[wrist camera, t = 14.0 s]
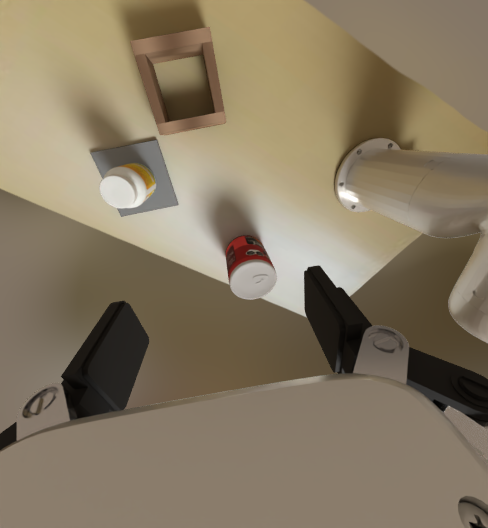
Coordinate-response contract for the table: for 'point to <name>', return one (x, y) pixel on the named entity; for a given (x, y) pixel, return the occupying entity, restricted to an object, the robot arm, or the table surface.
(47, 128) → the table surface
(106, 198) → the supplement bottle
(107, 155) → the rubber mat
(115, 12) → the table surface
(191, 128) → the sleeve holder
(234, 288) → the canned food
